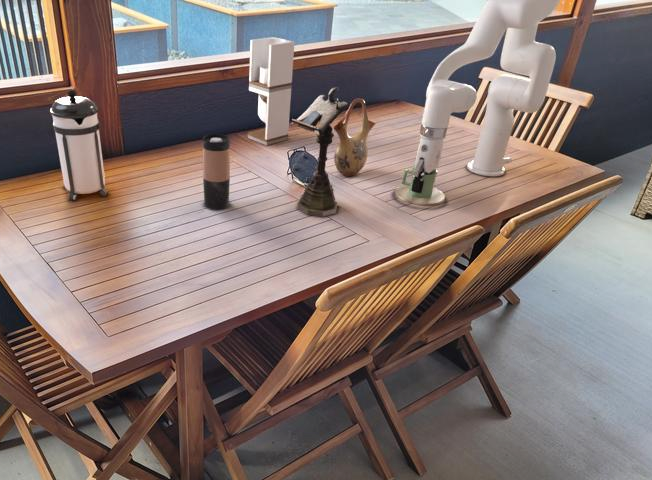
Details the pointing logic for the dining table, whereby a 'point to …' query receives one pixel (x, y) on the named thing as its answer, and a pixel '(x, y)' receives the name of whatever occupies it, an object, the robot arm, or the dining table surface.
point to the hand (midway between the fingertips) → (421, 187)
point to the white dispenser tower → (271, 86)
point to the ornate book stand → (320, 154)
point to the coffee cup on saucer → (428, 192)
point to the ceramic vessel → (352, 143)
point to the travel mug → (216, 170)
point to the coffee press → (79, 145)
